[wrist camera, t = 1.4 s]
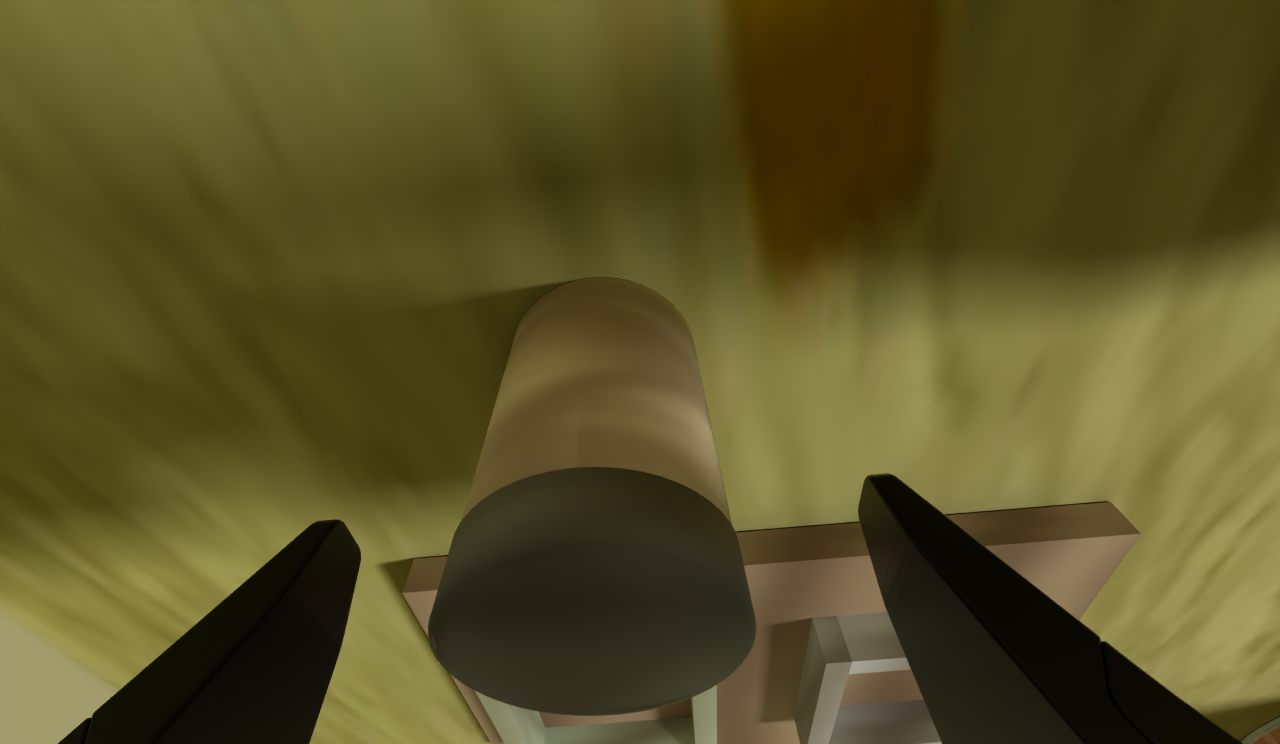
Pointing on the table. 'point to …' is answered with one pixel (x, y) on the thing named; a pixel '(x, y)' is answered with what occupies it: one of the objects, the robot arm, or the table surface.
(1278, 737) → the canned food
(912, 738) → the board
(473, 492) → the cylinder
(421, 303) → the table surface
